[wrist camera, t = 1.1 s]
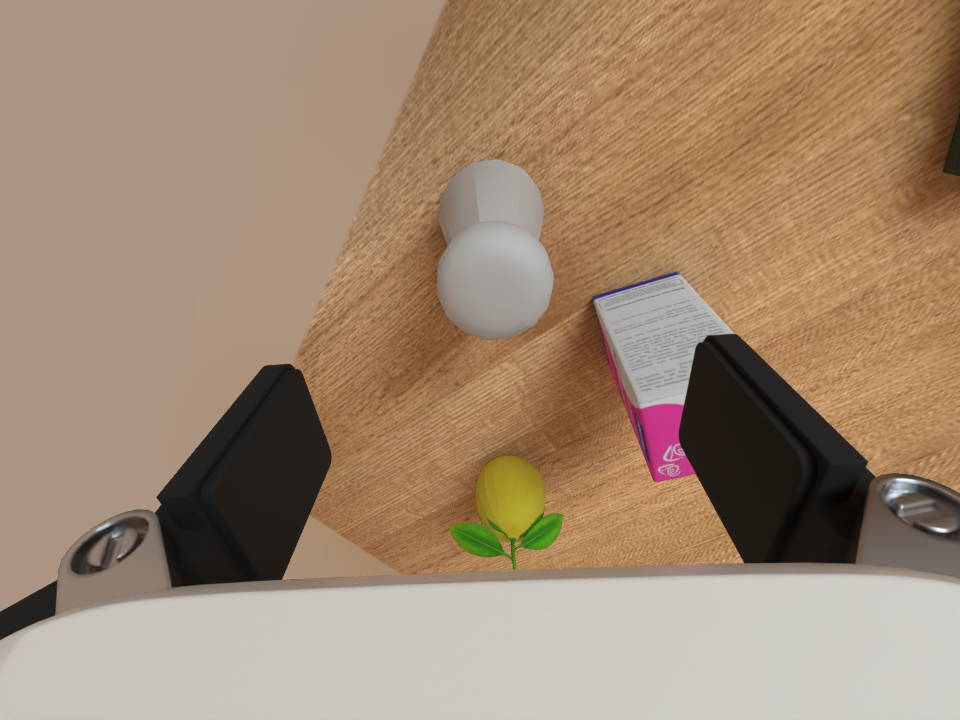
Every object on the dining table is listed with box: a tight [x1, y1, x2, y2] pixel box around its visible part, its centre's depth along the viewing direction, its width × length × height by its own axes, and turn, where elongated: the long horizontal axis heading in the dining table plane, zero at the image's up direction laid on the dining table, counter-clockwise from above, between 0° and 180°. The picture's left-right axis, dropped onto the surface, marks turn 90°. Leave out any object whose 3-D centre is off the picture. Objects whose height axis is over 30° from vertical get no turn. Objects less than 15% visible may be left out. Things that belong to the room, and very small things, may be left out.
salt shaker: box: [437, 159, 554, 340], centre depth 20 cm, size 6×6×13 cm
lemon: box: [449, 455, 563, 570], centre depth 33 cm, size 7×6×10 cm
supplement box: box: [593, 271, 734, 482], centre depth 25 cm, size 6×6×12 cm
